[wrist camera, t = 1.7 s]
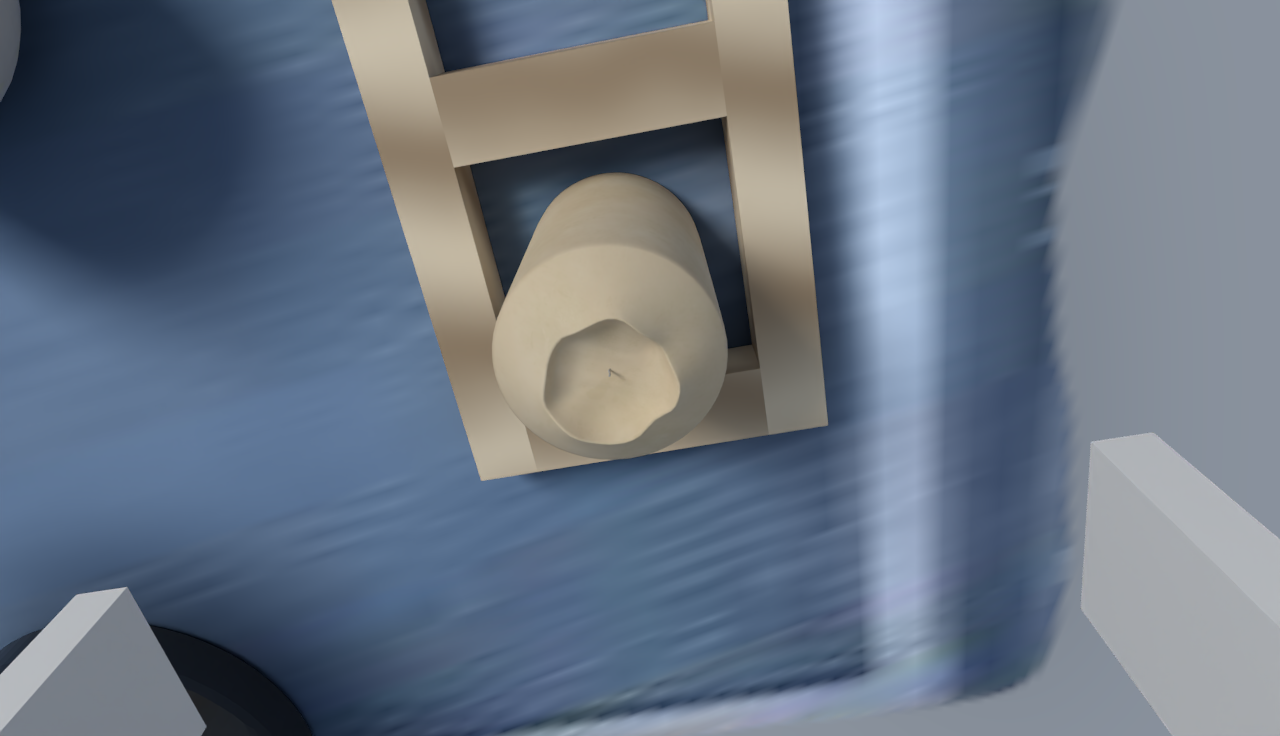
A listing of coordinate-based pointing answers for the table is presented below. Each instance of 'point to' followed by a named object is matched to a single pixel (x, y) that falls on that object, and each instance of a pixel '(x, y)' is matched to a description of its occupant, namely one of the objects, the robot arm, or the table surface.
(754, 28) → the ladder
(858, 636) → the table surface
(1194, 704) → the robot arm
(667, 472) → the table surface
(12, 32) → the teacup
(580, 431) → the candle
